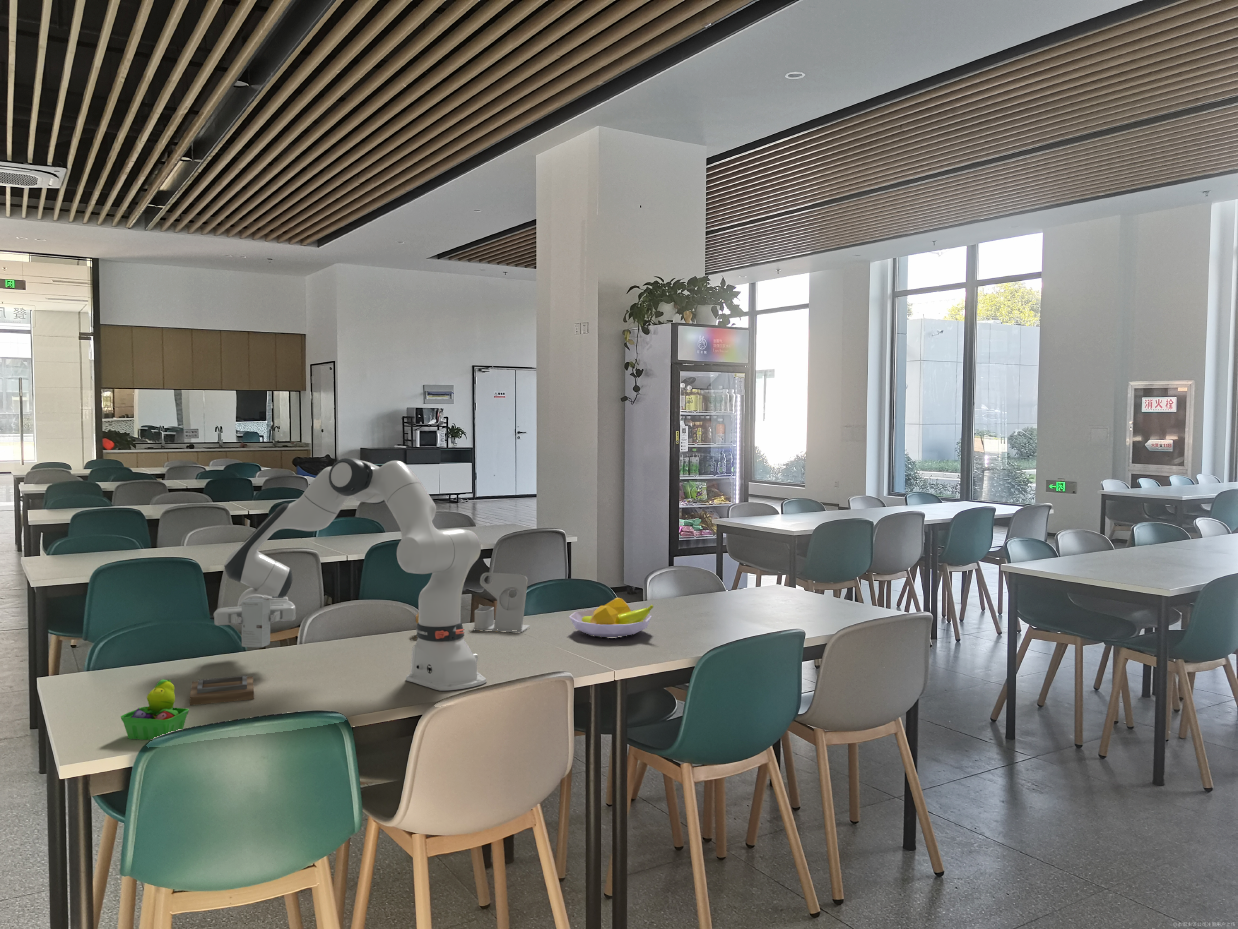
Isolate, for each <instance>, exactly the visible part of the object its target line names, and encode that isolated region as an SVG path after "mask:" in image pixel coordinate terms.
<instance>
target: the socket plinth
mask: <svg viewBox="0 0 1238 929" xmlns="http://www.w3.org/2000/svg"><path fill="white" fill-rule="evenodd" d="M254 688H255V687H254V677H253V676H248V675H236V676H226V677H225V676H224V677H212V678H202V679H198V680H194V681H192V682H191V688H190V692H189V693H190V694H189V706H199V705H209V704H210V705H211V704H217V703H229V702H239V701H249V700H250V701H251V700H255V698H254V697H255V689H254Z"/></svg>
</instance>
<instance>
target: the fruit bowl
mask: <svg viewBox="0 0 1238 929" xmlns="http://www.w3.org/2000/svg"><path fill="white" fill-rule="evenodd" d="M653 608H654V605H653V604H651V605H650V606H648V607H644V608H640V609H635V610H634V609H633V610H632V609H631V608H630V606H629V604H628V603H627V602H626V601H625V600H624V599H623V598H622V597H621V598H620V597H615V598H614V599H612V600H610V601H609V602H607V603H606V604H604V605H599V607H597V608H591V609H584V610H583V609H582V610H579V611H575V612H572V614H571V615H569V616H568V618H569V619H570V621H571V623H572V625H573V627H574V628H575V629H576V630H578V631H580V632H582V633H584V634H585V633H586V634H585V635H587V634H589V635H594V636H593V637H595V636H601V637H600V638H602V637H618V636H626V635H631V636H633V635H635V634H638V633H639V632H641V631H643V630H645V629H647V628H648V626H649V623H650V620H651V618H652V615H650V613H651V610H652V609H653ZM632 634H633V635H632ZM589 635H588V636H589ZM626 637H627V636H626Z"/></svg>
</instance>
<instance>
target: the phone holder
mask: <svg viewBox="0 0 1238 929" xmlns="http://www.w3.org/2000/svg"><path fill="white" fill-rule="evenodd" d="M487 577H490V578H491V581H490V582H489V583H486V582H485V579H486V578H487ZM528 582H529V581H528V577H527V576H526V575H524V574H522V573H521V574H520V573H506V572H505V573H503V572H484V573H482V574H481V575H480V579H479V584H480V586H481V587H482V588H484V589H485V590H486V591H487V592H488V593H489V594H491V595H492V597H494V598H495V599H496V601H497V602H496V609H495V607H494V606H491V605H490V606H489V605H487V606H486V605H484V606H481V607H479V608H477V609H475V610H474V625H473V630H474V629H475V630H492V631H506V632H523V631H524V630H526V629H527V628H528V627H531V625H530V624H524V616H525V606H526V598H527V592H528V590H527V589H528ZM511 590H515V591H516V595H515V596H513V597H511V596H510V592H511ZM497 629H498V630H497ZM475 630H474V631H475ZM512 630H517V631H512ZM526 631H527V630H526ZM523 633H524V632H523Z"/></svg>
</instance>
